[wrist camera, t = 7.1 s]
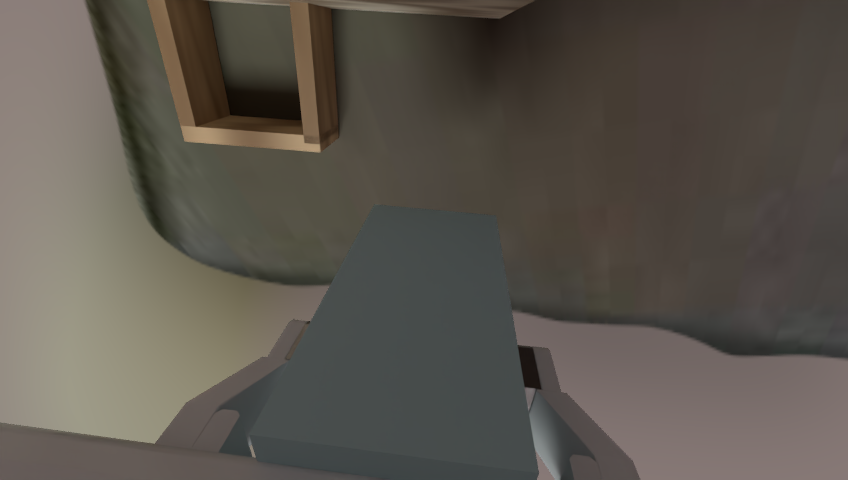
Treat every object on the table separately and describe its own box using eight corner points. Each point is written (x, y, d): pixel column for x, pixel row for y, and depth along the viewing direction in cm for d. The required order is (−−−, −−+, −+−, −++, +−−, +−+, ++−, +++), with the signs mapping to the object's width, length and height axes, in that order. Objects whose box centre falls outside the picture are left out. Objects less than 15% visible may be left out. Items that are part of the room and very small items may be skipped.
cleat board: (503, -12, 21) (561, -78, 9) (482, 148, 26) (501, 244, 14) (117, -33, 23) (-285, -117, 10) (162, 123, 27) (-79, 192, 15)
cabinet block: (495, 215, 15) (538, 473, 6) (477, 323, 18) (489, 603, 9) (374, 204, 15) (248, 434, 6) (376, 312, 18) (291, 572, 9)
